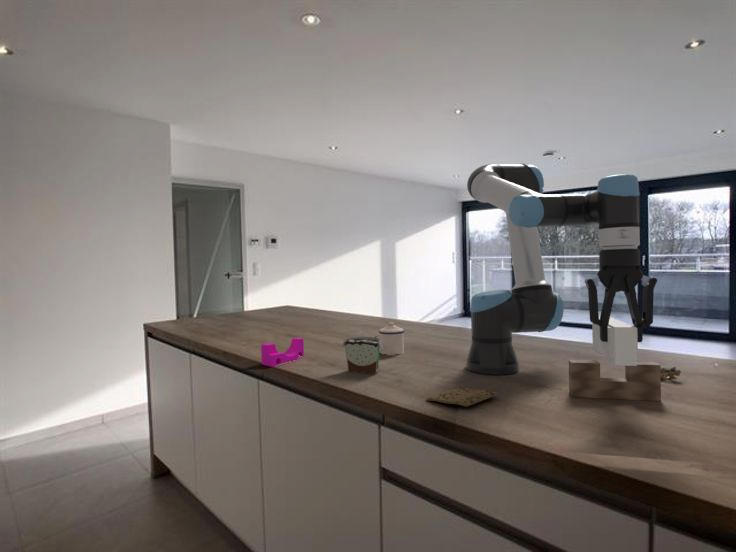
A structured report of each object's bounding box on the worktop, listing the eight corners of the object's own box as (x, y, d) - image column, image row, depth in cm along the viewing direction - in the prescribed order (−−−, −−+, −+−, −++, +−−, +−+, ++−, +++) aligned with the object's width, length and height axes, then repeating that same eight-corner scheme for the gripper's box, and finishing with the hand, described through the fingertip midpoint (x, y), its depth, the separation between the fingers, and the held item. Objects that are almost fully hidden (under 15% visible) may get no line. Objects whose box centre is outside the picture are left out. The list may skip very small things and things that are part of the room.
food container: (388, 370, 126) (388, 337, 126) (381, 375, 121) (380, 341, 121) (352, 367, 131) (352, 335, 131) (343, 371, 126) (342, 339, 126)
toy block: (273, 369, 132) (272, 346, 132) (261, 366, 136) (261, 344, 136) (308, 360, 144) (308, 339, 144) (297, 358, 148) (296, 337, 148)
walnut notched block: (572, 396, 96) (571, 362, 96) (569, 393, 99) (568, 359, 99) (661, 401, 91) (660, 365, 91) (655, 396, 94) (654, 362, 94)
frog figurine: (687, 378, 110) (687, 364, 110) (677, 388, 102) (677, 373, 102) (637, 371, 118) (637, 358, 118) (624, 380, 110) (624, 366, 110)
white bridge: (637, 365, 86) (636, 327, 86) (615, 365, 87) (614, 327, 87) (610, 349, 103) (609, 317, 103) (592, 348, 104) (592, 316, 104)
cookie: (456, 389, 106) (456, 381, 106) (498, 400, 96) (498, 391, 96) (425, 400, 98) (424, 391, 98) (467, 412, 89) (466, 403, 89)
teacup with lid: (409, 353, 150) (408, 321, 150) (397, 358, 142) (396, 324, 142) (380, 351, 156) (379, 320, 156) (367, 355, 149) (366, 323, 148)
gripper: (579, 249, 87) (581, 359, 88) (673, 246, 83) (675, 362, 83) (571, 250, 95) (573, 352, 95) (657, 247, 90) (659, 354, 91)
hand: (621, 356), depth 89 cm, fingers closed on white bridge, 4 cm apart
